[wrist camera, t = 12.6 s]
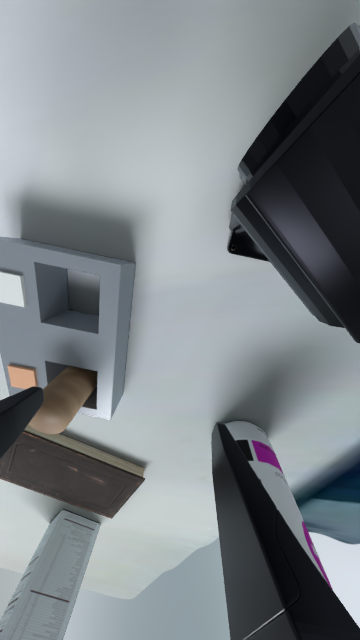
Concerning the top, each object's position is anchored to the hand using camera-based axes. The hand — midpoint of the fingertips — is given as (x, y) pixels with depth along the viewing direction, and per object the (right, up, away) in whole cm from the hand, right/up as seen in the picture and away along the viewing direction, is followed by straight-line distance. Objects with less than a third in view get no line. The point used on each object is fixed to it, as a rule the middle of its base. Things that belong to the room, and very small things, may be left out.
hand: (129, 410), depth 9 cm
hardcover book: (-17, -22, +23) cm, 36 cm away
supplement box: (-21, -42, +30) cm, 56 cm away
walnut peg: (-9, -1, +14) cm, 17 cm away
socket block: (-10, +4, +12) cm, 16 cm away
